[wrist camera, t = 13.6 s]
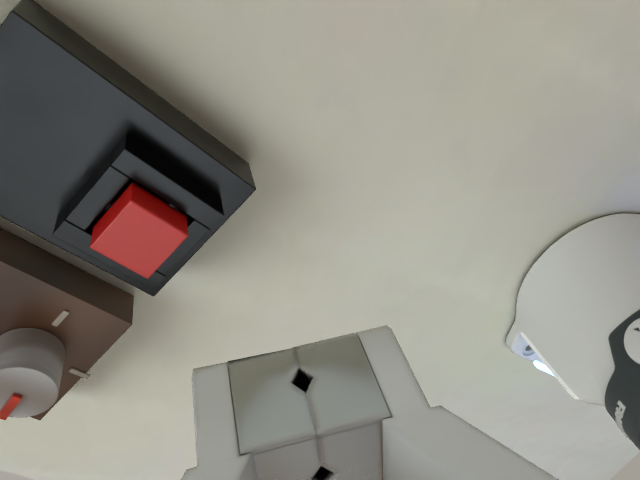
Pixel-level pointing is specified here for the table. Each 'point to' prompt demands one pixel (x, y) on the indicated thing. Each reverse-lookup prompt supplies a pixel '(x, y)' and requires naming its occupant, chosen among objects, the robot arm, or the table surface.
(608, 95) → the table surface
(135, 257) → the button
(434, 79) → the table surface
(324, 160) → the table surface
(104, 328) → the dial panel
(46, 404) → the dial
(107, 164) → the red push button box
